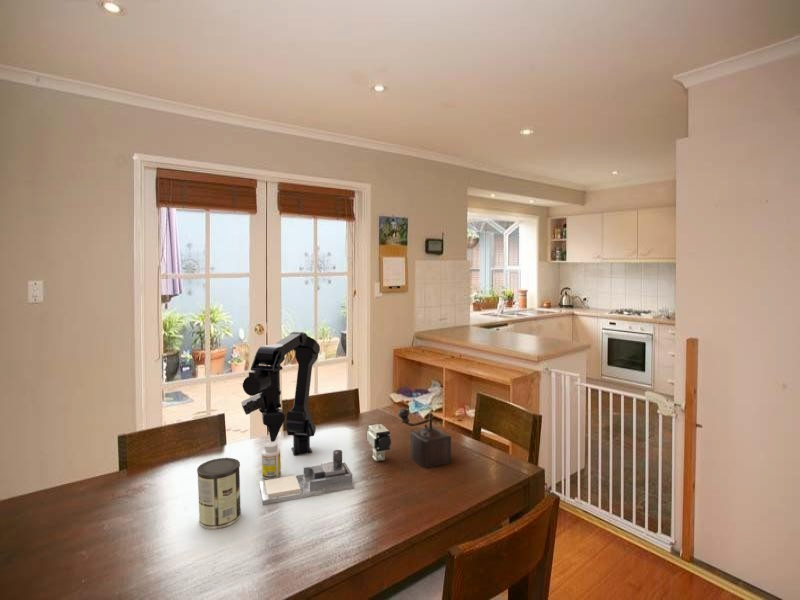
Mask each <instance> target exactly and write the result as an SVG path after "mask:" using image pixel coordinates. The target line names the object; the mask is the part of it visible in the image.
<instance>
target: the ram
mask: <svg viewBox="0 0 800 600" xmlns="http://www.w3.org/2000/svg"><path fill="white" fill-rule="evenodd" d="M342 463H343V450H342V449H335V450H333V451H332V461H331V462H330V461H329V462H324V463H323V462H322V463H320V465H321V466H319V465H318V466H319V467H313V468H312V478H313V480H315V479H321V478H327V477H333V476H339V475H345V468H344V467H343V465H342Z"/></svg>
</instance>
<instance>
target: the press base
mask: <svg viewBox="0 0 800 600" xmlns="http://www.w3.org/2000/svg"><path fill="white" fill-rule="evenodd" d="M342 465H343V467H344V468H345V475H339V476H333V477H327V478H321V479H315V480H313V478H312V468H313V467H319V466H321V464H319V465H313V466H307V467H306V466H305V467H303V474H298V475H296V478H297V480H298V483H299V486H300V492H294V493H288V494H282V495H277V496H271V497H268V495H267V490H266V485H265V480H260V481H259V489H260V495H261V501H262V505H268V504H274V503H280V502H286V501H287V502H288V501H290V500H297V499H298V500H299V499H302V498H309V497H314V496H320V495H325V494H330V493H336V492H337V493H338V492H343V491H346V490H348V491H349V490H353V489H355V484H354V482H353V481H354V480H353V473H352V471H351V470H350V468H349V467H348V464H347V463H346V462H345V461H344V462H343V461H342Z"/></svg>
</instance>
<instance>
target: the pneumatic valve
mask: <svg viewBox="0 0 800 600" xmlns="http://www.w3.org/2000/svg"><path fill="white" fill-rule="evenodd" d="M365 437H366V439H365V440H366V441H367V443H368V444H369V445H370V446H371V447H372V459H373V460H374V461H375V462H376V463H377V462H379V461H385V460H386V458H385V455H386V451H389V450H390V449H391V448H390V447H391V444H392V440H391V432H390V430H389V429H388V428H386V427H385V425H383V424H382V423H381V422H379V423H378V422H377V423H372V424H368V425H367V430H366V434H365Z"/></svg>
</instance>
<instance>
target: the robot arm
mask: <svg viewBox="0 0 800 600" xmlns="http://www.w3.org/2000/svg"><path fill="white" fill-rule="evenodd" d="M292 351H293V352H294V358H295V360H296V363H297V364H298V365H297V366H298V367H297V373H296V384H295V393H294V401H293V407H292V408H291V409H290V410H288V411H287V413H286V414H285V413H284V412H285V411H284V410H282V409H281V408H282V403H281V395H282V391H281V382H280V381H281V380H280V379H281V377H280V376H281V374H280V373H281V372H280V371H282V370H283V368H284V367H283V366H282V365H281V364H282V363H283V362H284V361H285V359H286V358H285V356H286V355H288V354H289V353H290V352H292ZM320 351H321V346H320V344H319V343H318V341H317V340H315V339H314V338H312V337H310V336H309V335H308V334H307V333H306V332H304V331H291V332H290V334H288V335H287V336H285V337H284V338H282V339H279V340H278V341H277V342H276V343H273V344H265V345H261V346H260V347H258V349H257V351H256V353H255V356H254V359H253V361H252V364H251V367H250V371H249V372H248V376H247V377H245V379H243V383H242V389H243V391H244V393H246V395H248V396H251V397H248V398H247V399H245V400H242V401H241V402H240V403H241V407H242V410H243V411H244V413H245V416H246V415H250V414H251V413H252V412H255V411H257V410H258V411H259V413H260V414H261V419H262V420H261V421H262V423H263V424H262V425H264V426H266V429H267V432H268V433H269V438H270V442H276V440H277V437H278V435H279V433H280V431H281V428H282V426H283V424H284V422H285V428H286V433H287V436H293V438H292V439H293V442H292V444H293V445H292V447H291V448H290V449H291V452H292V455H293V456H299V455H301V456H302V455H307V454H308V455H309V454H312V453H313V449H312V448H311V438H312V437H314V436H315V434H316V431H317V430H316V428H317V427H316V425H315V424H314V423H313V421H312V413H311V411H310V409H309V399H310V392H311V391H310V389H311V380H312V379H311V378H312V372H313V371H312V370H313V365H315V363H316V361H318V358H319V354H320Z"/></svg>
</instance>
